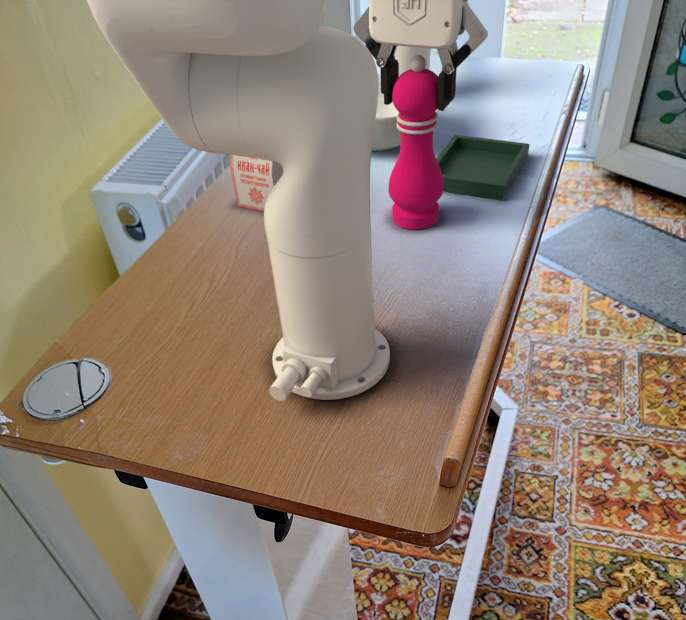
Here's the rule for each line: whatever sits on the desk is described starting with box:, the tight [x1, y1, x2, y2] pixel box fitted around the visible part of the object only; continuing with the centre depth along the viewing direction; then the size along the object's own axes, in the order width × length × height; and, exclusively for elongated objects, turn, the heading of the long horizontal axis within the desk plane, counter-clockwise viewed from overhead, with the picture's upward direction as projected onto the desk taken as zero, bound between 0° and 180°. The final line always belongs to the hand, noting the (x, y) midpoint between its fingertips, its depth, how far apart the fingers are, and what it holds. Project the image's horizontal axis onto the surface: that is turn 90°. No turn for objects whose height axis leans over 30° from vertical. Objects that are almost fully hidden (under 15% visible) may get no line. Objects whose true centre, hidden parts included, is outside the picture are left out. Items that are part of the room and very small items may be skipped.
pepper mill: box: [387, 55, 444, 231], centre depth 84 cm, size 7×7×20 cm
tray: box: [436, 134, 531, 201], centre depth 98 cm, size 14×12×2 cm
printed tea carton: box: [229, 155, 283, 212], centre depth 93 cm, size 4×7×10 cm, turn 63°
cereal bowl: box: [372, 73, 401, 152], centre depth 105 cm, size 17×17×7 cm
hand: (417, 101), depth 80 cm, fingers closed on pepper mill, 6 cm apart
